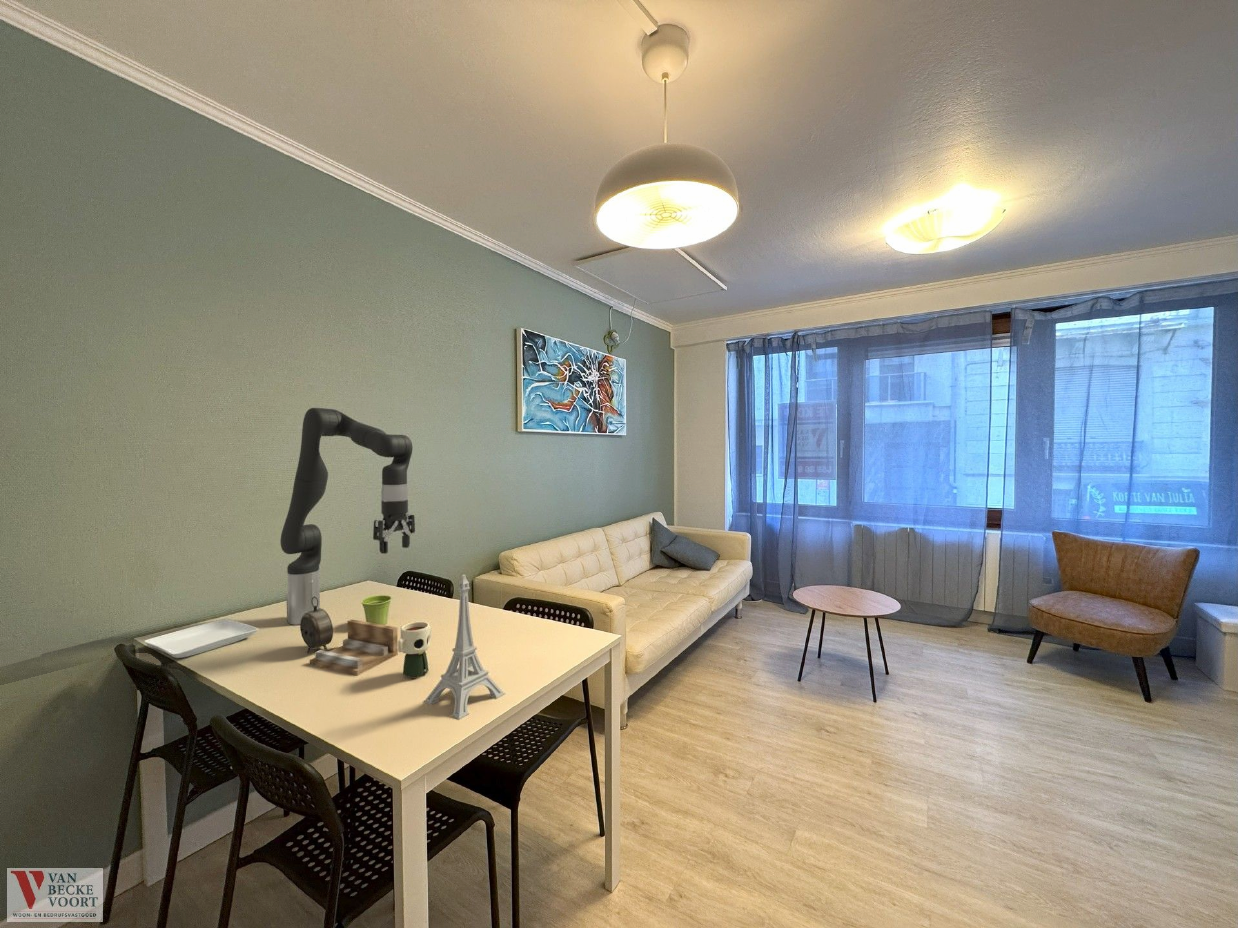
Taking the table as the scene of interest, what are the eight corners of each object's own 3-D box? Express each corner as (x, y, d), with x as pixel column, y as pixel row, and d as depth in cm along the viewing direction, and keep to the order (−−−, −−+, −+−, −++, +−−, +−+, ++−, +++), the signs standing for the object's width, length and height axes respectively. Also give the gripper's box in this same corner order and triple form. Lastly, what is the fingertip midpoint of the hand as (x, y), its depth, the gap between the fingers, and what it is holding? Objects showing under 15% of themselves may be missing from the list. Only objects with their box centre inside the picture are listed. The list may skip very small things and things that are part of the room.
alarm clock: (334, 651, 140) (333, 597, 140) (315, 658, 136) (313, 602, 135) (316, 643, 146) (315, 591, 146) (296, 649, 142) (295, 595, 141)
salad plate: (142, 650, 142) (141, 639, 141) (227, 626, 160) (227, 616, 160) (174, 666, 132) (173, 653, 132) (260, 638, 150) (260, 628, 150)
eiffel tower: (470, 679, 124) (468, 565, 123) (505, 694, 116) (504, 573, 115) (423, 701, 113) (422, 577, 112) (459, 720, 105) (457, 586, 104)
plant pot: (398, 620, 166) (397, 595, 166) (381, 630, 156) (381, 604, 156) (372, 619, 167) (372, 594, 166) (355, 629, 157) (354, 603, 157)
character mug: (409, 686, 120) (409, 635, 119) (389, 680, 123) (388, 631, 122) (441, 667, 130) (440, 621, 130) (421, 663, 133) (420, 617, 132)
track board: (309, 664, 132) (309, 635, 132) (352, 645, 145) (351, 619, 144) (357, 675, 126) (356, 645, 125) (397, 654, 138) (397, 627, 138)
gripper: (403, 495, 156) (403, 544, 156) (366, 500, 142) (366, 554, 143) (421, 497, 153) (421, 546, 154) (385, 501, 140) (385, 556, 140)
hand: (395, 550), depth 148 cm, fingers open, 8 cm apart
